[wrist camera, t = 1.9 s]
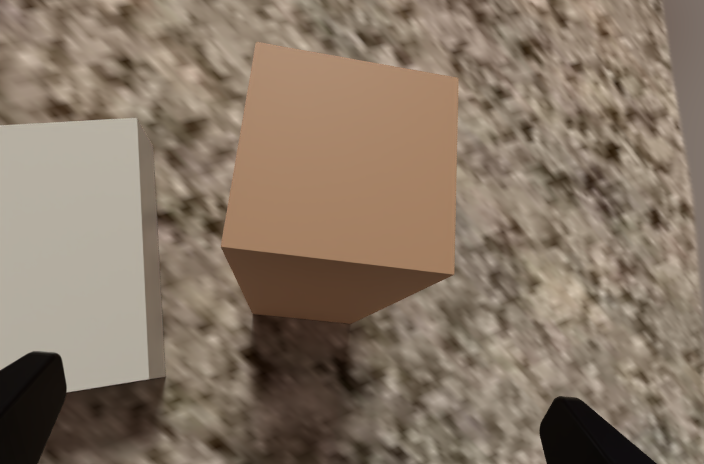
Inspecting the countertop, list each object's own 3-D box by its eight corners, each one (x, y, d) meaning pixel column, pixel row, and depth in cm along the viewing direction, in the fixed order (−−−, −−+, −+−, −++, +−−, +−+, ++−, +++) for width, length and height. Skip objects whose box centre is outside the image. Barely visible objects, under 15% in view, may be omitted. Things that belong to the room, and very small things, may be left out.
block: (350, 323, 20) (454, 274, 8) (252, 314, 19) (220, 246, 8) (358, 231, 21) (458, 78, 10) (266, 219, 20) (255, 41, 9)
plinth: (165, 376, 18) (149, 379, 16) (-134, 425, 16) (-205, 436, 14) (152, 145, 20) (136, 117, 18) (-108, 164, 19) (-165, 134, 16)
